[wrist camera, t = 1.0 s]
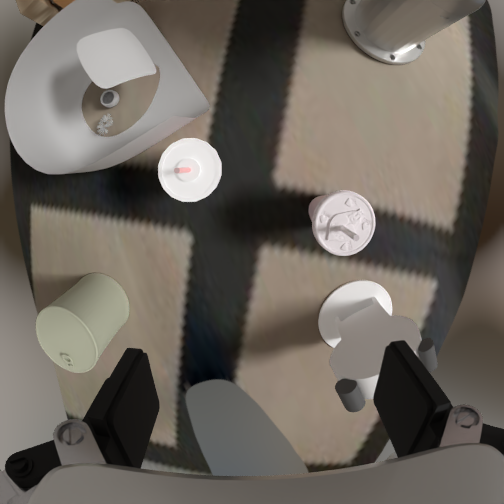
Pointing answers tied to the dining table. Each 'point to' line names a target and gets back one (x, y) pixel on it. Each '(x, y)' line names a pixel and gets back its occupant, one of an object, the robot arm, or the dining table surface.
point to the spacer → (63, 2)
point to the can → (82, 322)
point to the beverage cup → (189, 169)
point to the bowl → (103, 75)
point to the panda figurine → (365, 338)
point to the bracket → (41, 10)
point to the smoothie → (342, 222)
